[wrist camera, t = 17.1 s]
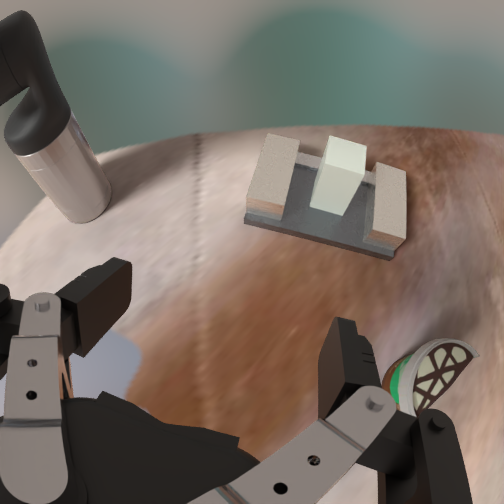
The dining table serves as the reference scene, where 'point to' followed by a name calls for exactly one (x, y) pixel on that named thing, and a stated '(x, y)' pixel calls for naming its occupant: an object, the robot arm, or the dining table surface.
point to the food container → (426, 373)
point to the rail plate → (318, 221)
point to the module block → (338, 175)
